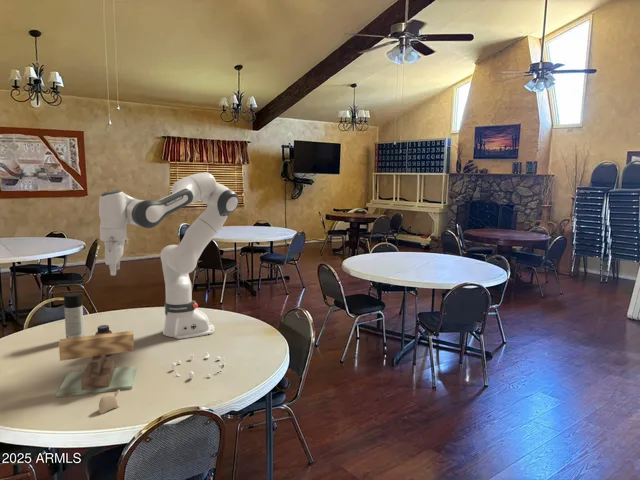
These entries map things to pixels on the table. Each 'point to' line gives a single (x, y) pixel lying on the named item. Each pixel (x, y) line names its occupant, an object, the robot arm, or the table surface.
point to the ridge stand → (98, 378)
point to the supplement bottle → (103, 331)
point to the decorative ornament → (108, 402)
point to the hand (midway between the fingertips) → (115, 272)
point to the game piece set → (191, 371)
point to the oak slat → (96, 345)
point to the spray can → (73, 315)
